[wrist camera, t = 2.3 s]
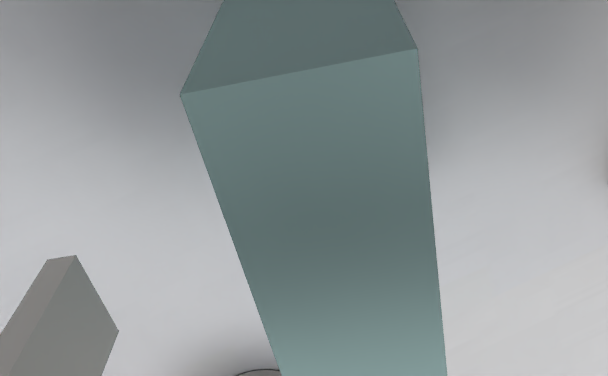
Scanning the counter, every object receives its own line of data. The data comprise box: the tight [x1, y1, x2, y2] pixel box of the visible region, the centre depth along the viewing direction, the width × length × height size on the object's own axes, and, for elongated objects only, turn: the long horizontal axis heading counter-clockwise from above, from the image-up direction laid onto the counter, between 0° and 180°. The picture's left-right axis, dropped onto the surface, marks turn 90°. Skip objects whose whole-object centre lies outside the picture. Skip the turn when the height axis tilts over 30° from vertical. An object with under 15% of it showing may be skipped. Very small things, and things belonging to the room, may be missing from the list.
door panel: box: [180, 0, 447, 376], centre depth 16 cm, size 10×4×11 cm, turn 12°
